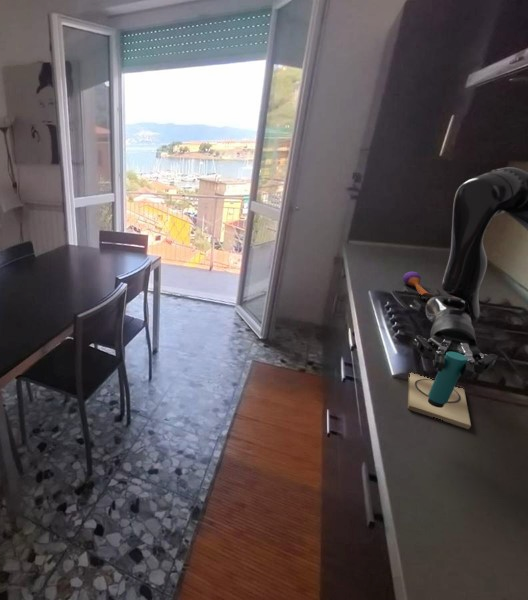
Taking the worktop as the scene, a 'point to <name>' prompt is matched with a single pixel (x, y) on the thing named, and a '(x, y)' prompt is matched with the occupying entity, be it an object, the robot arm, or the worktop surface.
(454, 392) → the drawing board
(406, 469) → the worktop surface
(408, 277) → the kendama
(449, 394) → the cylinder
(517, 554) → the worktop surface
